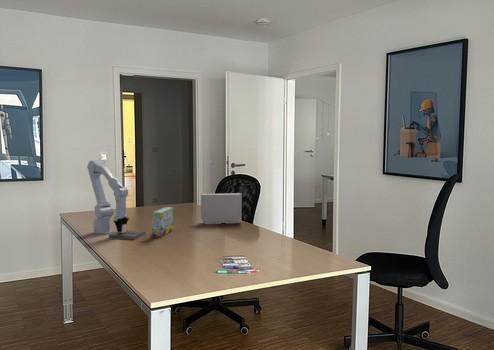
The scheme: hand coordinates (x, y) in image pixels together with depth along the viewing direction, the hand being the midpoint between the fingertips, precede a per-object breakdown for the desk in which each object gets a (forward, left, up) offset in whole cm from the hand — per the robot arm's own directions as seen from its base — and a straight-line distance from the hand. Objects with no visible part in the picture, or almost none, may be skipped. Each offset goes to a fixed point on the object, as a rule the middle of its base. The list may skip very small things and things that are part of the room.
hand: (121, 230), depth 276 cm
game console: (+45, +55, -3) cm, 71 cm away
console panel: (+4, 0, -3) cm, 5 cm away
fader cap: (0, 0, -1) cm, 1 cm away
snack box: (+21, +12, -3) cm, 24 cm away
